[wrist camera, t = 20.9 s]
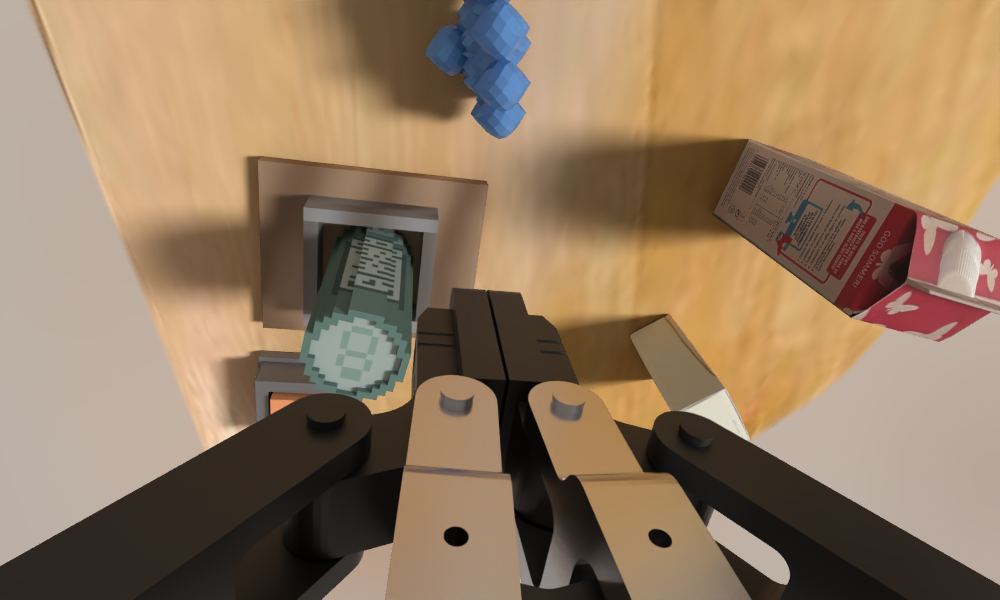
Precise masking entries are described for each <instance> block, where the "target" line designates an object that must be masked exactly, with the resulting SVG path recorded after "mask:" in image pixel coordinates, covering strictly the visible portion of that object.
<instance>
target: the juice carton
mask: <svg viewBox="0 0 1000 600" xmlns="http://www.w3.org/2000/svg"><path fill="white" fill-rule="evenodd" d="M713 215H714V216H715V217H717V218H718V219H720V220H721V221H722V222H724V223H725V224H726V225H728V226H729V227H730V228H732V229H733V230H734V231H736V232H737V233H738V234H740V235H741V236H742V237H744V238H745V239H746V240H748V241H749V242H750V243H752V244H753V245H754V246H756V247H757V248H758V249H760V250H761V251H762V252H764V253H765V254H766V255H768V256H769V257H770V258H772V259H773V260H774V261H776V262H777V263H778V264H780V265H781V266H782V267H784V268H785V269H786V270H788V271H789V272H790V273H792V274H793V275H794V276H796V277H797V278H799V279H800V280H801V281H803V282H804V283H805V284H807V285H808V286H809V287H811V288H812V289H813V290H815V291H816V292H817V293H819V294H820V295H821V296H823V297H824V298H825V299H827V300H828V301H829V302H831V303H832V304H833V305H835V306H836V307H837V308H839V309H840V310H841V311H843V312H844V313H845V314H847V315H848V316H849V317H851V318H853V319H857V320H861V321H864V322H868V323H872V324H875V325H879V326H883V327H886V328H890V329H894V330H897V331H901V332H905V333H908V334H912V335H916V336H919V337H923V338H927V339H931V340H934V341H938V342H940V341H942V340H944V339H947V338H949V337H951V336H953V335H955V334H956V333H958V332H959V331H961V330H963V329H964V328H966V327H968V326H969V325H971V324H972V323H974V322H976V321H977V320H979V319H980V318H982V317H984V316H985V315H987V314H989V313H990V312H993V313H996V314H1000V239H998V238H995V237H993V236H991V235H988V234H986V233H983V232H981V231H979V230H976V229H974V228H972V227H969V226H967V225H965V224H962V223H960V222H957V221H955V220H953V219H950V218H948V217H946V216H943V215H941V214H938V213H936V212H934V211H931V210H929V209H927V208H924V207H922V206H919V205H917V204H915V203H912V202H910V201H908V200H905V199H903V198H900V197H898V196H896V195H893V194H891V193H889V192H886V191H884V190H881V189H879V188H877V187H874V186H872V185H870V184H867V183H865V182H862V181H860V180H858V179H855V178H853V177H850V176H848V175H846V174H843V173H841V172H839V171H836V170H834V169H831V168H829V167H827V166H824V165H822V164H820V163H817V162H815V161H812V160H809V159H806V158H803V157H800V156H797V155H794V154H791V153H788V152H785V151H783V150H780V149H777V148H774V147H771V146H768V145H765V144H762V143H759V142H756V141H753V140H751V139H749V140H748V142H747V144H746V146H745V149H744V151H743V153H742V155H741V157H740V159H739V161H738V163H737V165H736V167H735V169H734V171H733V173H732V175H731V177H730V179H729V181H728V183H727V185H726V188H725V190H724V192H723V194H722V196H721V198H720V200H719V202H718V204H717V206H716V208H715V210H714V212H713ZM991 308H992V309H991Z"/></svg>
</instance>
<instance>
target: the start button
mask: <svg viewBox="0 0 1000 600" xmlns="http://www.w3.org/2000/svg"><path fill="white" fill-rule="evenodd" d="M309 395H314V394H306V393H285V392H273V393H272V396H271V399H270V408H271V414H272V413H274V412H276V411H278V410H280V409H281V408H283V407H285V406H287V405H288V404H290V403H292V402H294V401H296V400H298V399H300V398H303V397H306V396H309Z"/></svg>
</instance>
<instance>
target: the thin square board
mask: <svg viewBox="0 0 1000 600" xmlns="http://www.w3.org/2000/svg"><path fill="white" fill-rule="evenodd" d="M258 181H259V213H260V246H261V278H262V310H263V328H276V329H291V330H306V328H307V325H308V322H309V319H310V316H311V313H312V310H313V308H314V305H315V302H316V299H317V296H318V293H319V290H320V287H321V284H322V281H323V278H324V275H325V272H326V269H327V266H328V264H329V261H330V258H331V255H332V252H333V249H334V246H335V243H336V240H337V237H340V238H342V236H343V233H344V230H345V229H347V230H350V228H351V226H355V227H356V226H366V227H376V228H387V229H395V230H394V232H398V233H402V234H404V237H403V239H406V240H407V245H410V246H411V256H413V297H412V337H414V338H416V329H417V319H418V317H419V316H420V315H421V314H422V313H423V312H424V311H425V310H426V308H427V307H428V308H442V309H449V304H450V296H451V291H452V288H466V289H474V283H475V276H476V269H477V262H478V255H479V247H480V240H481V233H482V226H483V219H484V211H485V204H486V197H487V190H488V184H487V181H479V180H470V179H461V178H452V177H443V176H434V175H425V174H416V173H407V172H398V171H389V170H380V169H371V168H362V167H353V166H344V165H335V164H326V163H317V162H308V161H299V160H290V159H281V158H272V157H263V156H262V157H261V158H260V159H259V160H258Z"/></svg>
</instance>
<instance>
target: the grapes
mask: <svg viewBox="0 0 1000 600" xmlns="http://www.w3.org/2000/svg"><path fill="white" fill-rule="evenodd" d="M463 1H464V2H465V3H464V4H463V6H462V7H461V9H460V10H459V11H458V13H457V15H459V16H460V18H459V20H458V22H457V25H458V26H459V27H456V26H454V25H453V24H450V25H447V26H444V27H442V28H440V29H439V30H438V32H437V33H436V34H435V36H434V37H433V39H432V40H431V42H430V43H429V45H428V47H427V49H426V51H425V53H424V54H425V55H426V56H427V57H428V58H429V59H430V60H431V61H432V62H433V64H434V65H435V66H436V67H437V68H438V69H439V70H441V71H443V72H444V73H446V74H448V75H449V76H454V75H457V74H459V73H462V72H463V74H464V75H465V76H466V77H465V79H464V80H463V82H464V84H465V85H466V86H467V87H468V88H469V89H470V90H472V91H473V92H474V93H475V94H476V95H477V98H476V100H477V101H478V102H477V103H476V105H475V107H474V109H473V110H472V112H471V115H472V116H473V117H474V118H475V120H476V121H477V122H478V123H479V124H480V125H481V126H482V127H483V128H484V129H485V131H486V132H488V133H489V134H491V135H492V136H494V137H496V138H498V139H500V138H506V137H507V136H509V135H510V134H511V133H512V132H513V131H514V130H515V129H516V128H517V126H518V125H519V123H520V121H521V120H522V118H523V116H524V115H525V113H526V112H525V111H524V109H523V108H522V107H521V106H520V104H519V103H518V102H519V101H520V99H521V98H522V96H523V95H524V93H525V91H526V90H527V88H528V86H529V85H530V83H531V82H530V81H529V80H528V78H527V77H526V76H525V75H524V73H523V72H522V71H521V70H520V69H519V68H518V66H516V65H517V64H518V63H519V62H520V61H521V59H522V58H523V56H524V55H525V53H526V51H527V50H528V48H529V46H530V44H531V42H530V41H529V40H528V38H527V37H526V34H527V32H528V31H529V29H530V27H529V26H528V24H527V23H526V21H525V20H524V18H523V17H522V16H521V15H520V14H519V13H518V11H517V10H516V9H515V8H514V7H513V6H512V5H510V4H509V1H510V0H463Z"/></svg>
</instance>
